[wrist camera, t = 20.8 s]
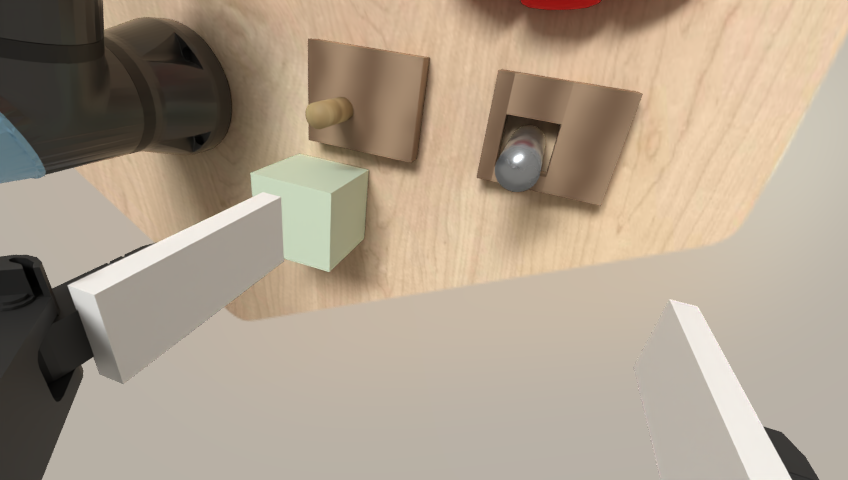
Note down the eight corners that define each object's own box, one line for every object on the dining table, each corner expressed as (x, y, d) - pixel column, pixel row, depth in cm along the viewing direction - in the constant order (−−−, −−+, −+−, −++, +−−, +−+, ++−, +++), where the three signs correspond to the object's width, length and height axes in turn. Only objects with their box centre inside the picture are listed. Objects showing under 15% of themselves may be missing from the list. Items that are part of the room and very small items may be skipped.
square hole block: (479, 172, 41) (476, 177, 39) (501, 69, 36) (498, 70, 34) (598, 198, 38) (600, 205, 37) (638, 91, 34) (642, 94, 32)
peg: (505, 153, 39) (488, 183, 31) (517, 120, 38) (503, 141, 29) (537, 164, 39) (529, 198, 30) (551, 131, 37) (547, 157, 29)
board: (318, 136, 45) (281, 149, 39) (318, 39, 40) (276, 37, 34) (417, 158, 42) (393, 176, 36) (429, 57, 38) (405, 58, 32)
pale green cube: (300, 221, 51) (256, 250, 43) (299, 153, 46) (250, 172, 39) (364, 238, 49) (329, 272, 41) (368, 169, 45) (331, 193, 37)
